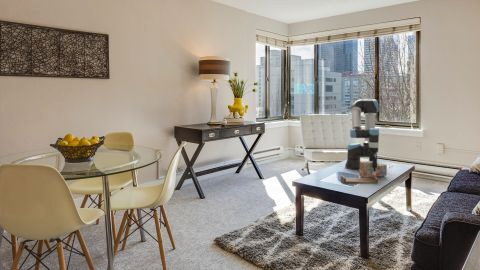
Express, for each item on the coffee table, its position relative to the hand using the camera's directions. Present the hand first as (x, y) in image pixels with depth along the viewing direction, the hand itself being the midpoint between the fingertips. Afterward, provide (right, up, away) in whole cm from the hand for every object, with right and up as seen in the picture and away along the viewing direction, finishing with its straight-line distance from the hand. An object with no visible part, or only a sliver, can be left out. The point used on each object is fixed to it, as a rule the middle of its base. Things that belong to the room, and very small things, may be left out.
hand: (372, 173), depth 285 cm
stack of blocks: (0, -2, 0) cm, 2 cm away
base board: (-16, -5, -14) cm, 22 cm away
